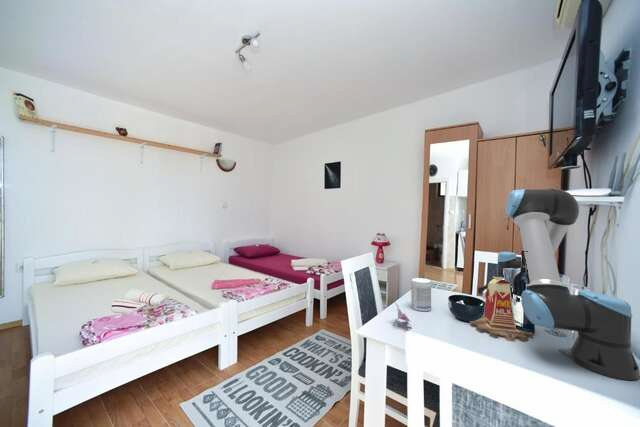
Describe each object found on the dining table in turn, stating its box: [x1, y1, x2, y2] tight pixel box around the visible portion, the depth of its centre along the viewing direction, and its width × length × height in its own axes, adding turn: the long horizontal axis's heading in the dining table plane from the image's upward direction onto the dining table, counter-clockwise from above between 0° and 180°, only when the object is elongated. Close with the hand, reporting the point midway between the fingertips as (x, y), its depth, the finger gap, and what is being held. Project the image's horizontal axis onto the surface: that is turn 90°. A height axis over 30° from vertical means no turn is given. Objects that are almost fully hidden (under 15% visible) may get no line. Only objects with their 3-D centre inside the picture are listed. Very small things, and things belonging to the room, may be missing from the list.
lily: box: [392, 302, 413, 329], centre depth 112 cm, size 12×12×10 cm
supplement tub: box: [410, 277, 432, 312], centre depth 133 cm, size 10×10×15 cm
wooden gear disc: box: [469, 315, 534, 342], centre depth 110 cm, size 22×22×3 cm
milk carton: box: [483, 276, 516, 328], centre depth 110 cm, size 9×9×20 cm
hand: (498, 298), depth 107 cm, fingers closed on milk carton, 10 cm apart
